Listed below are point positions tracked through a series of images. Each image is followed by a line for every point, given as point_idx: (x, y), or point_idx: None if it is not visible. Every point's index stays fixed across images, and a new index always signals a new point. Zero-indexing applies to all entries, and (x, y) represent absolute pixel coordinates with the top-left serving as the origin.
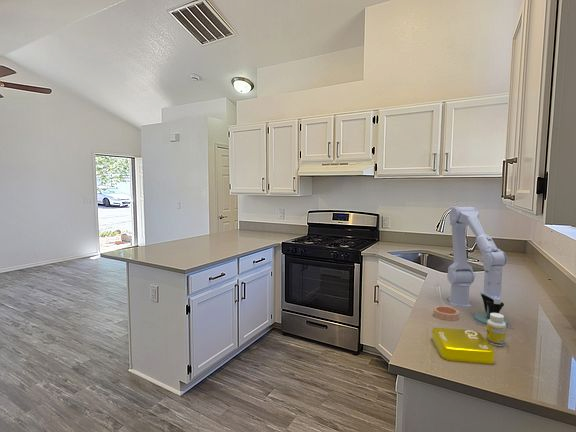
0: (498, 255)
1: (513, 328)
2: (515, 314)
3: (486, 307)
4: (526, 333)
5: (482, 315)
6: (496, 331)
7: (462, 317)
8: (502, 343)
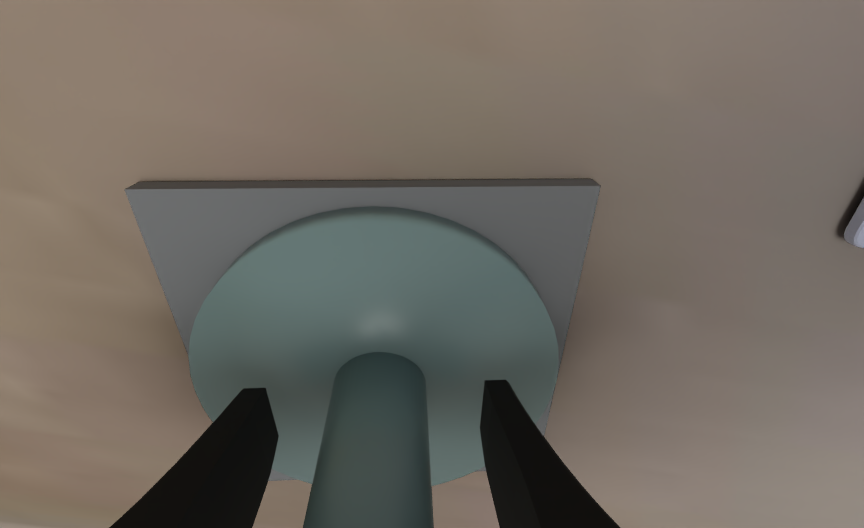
0: None
1: None
2: (625, 521)
3: (503, 449)
4: None
5: (430, 320)
6: None
7: (414, 22)
8: None
